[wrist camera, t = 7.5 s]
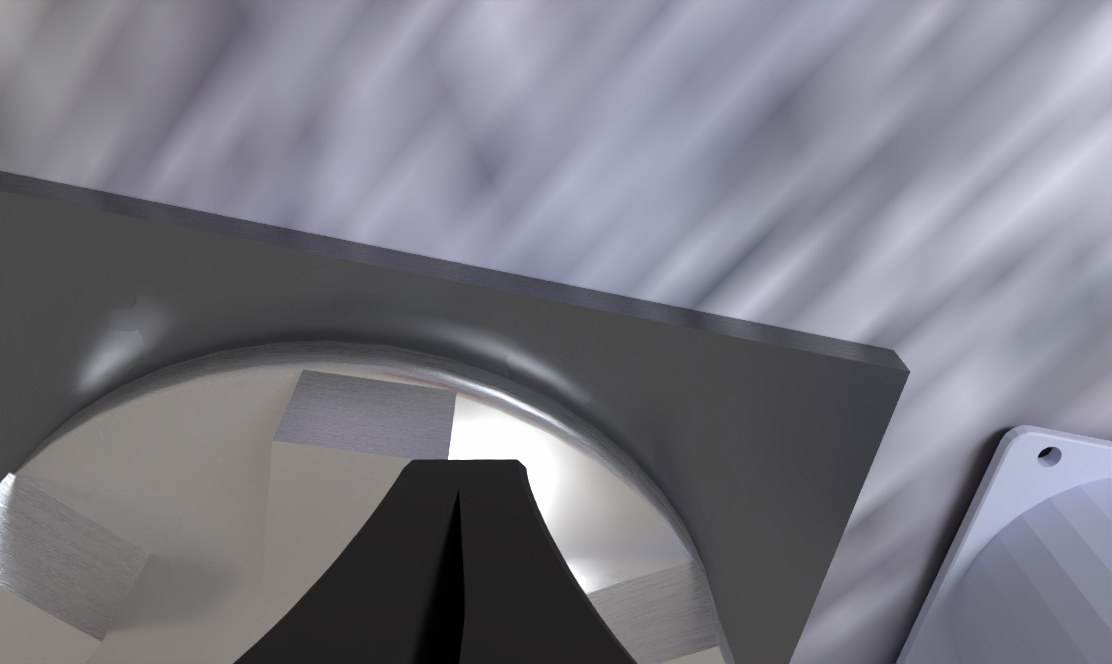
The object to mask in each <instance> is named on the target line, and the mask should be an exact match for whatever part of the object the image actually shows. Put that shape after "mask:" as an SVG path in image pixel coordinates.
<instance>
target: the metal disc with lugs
mask: <svg viewBox="0 0 1112 664" xmlns="http://www.w3.org/2000/svg"><path fill="white" fill-rule="evenodd" d="M414 459H518V460H519V461H520V462H521V463H522V464H523V465H524V466H525V467H527V474H528V478H529V482H530V486H531V489H532V492H533V495H534V497H535V500H536V503H537V505H538V507H539V510H540V512H541V514H542V517H543V519H544V521H545V523H546V525H547V527H548V530H549V532H550V534H551V536H552V538H553V539H554V541H555V543H556V545H557V547H558V548H559V550H560V552H561V554H562V556H563V558H564V559H565V561H566V563H567V565H568V567H569V568H570V570H571V572H572V573H573V575H574V577H575V578H576V580H577V582H578V583H579V585H580V586H581V588H582V589H583V591H584V592H585V594H586V595H587V597H588V598H589V600H590V601H591V603H592V604H593V606H594V607H595V609H596V610H597V612H598V613H599V615H600V616H601V617H602V619H603V620H604V622H605V623H606V624H607V626H608V627H609V629H610V630H611V631H612V632H613V634H614V635H615V636H616V638H617V639H618V640H619V642H620V643H621V644H622V645H623V647H624V648H625V649H626V650H627V651H628V653H629V654H630V655H631V656H632V657H633V659H634V660H635V661H636V662H637V664H735V661H734V658H733V655H732V652H731V650H730V647H729V644H728V642H727V639H726V636H725V634H724V631H723V628H722V626H721V623H720V620H719V618H718V614H717V610H716V606H715V603H714V599H713V596H712V592H711V588H710V585H709V581H708V578H707V574H706V571H705V567H704V564H703V562H702V560H701V558H700V556H699V554H698V552H697V549H696V547H695V545H694V543H693V541H692V539H691V537H690V535H689V532H688V530H687V528H686V526H685V525H684V523H683V522H682V520H681V519H680V517H679V516H678V515H677V513H676V512H675V510H674V509H673V507H672V506H671V504H670V503H669V501H668V500H667V498H666V497H665V495H664V494H663V492H662V491H661V490H660V489H659V487H658V486H657V485H656V484H655V483H654V482H653V481H652V480H651V479H650V478H649V476H648V475H647V474H646V473H645V472H644V471H643V470H642V469H641V468H640V467H639V466H638V464H637V463H636V462H635V461H634V460H633V459H632V458H631V457H630V456H629V455H628V454H627V453H626V452H624V451H623V450H622V449H621V448H620V447H618V446H617V445H616V444H615V443H614V442H612V441H611V440H610V439H609V438H608V437H606V436H605V435H604V434H603V433H602V432H600V431H599V430H598V429H597V428H595V427H594V426H593V425H592V424H590V423H589V422H587V421H586V420H584V419H582V418H581V417H579V416H578V415H576V414H574V413H573V412H571V411H570V410H568V409H566V408H565V407H563V406H562V405H560V404H559V403H557V402H555V401H554V400H552V399H551V398H549V397H547V396H545V395H543V394H541V393H539V392H537V391H534V390H532V389H530V388H528V387H526V386H524V385H522V384H519V383H517V382H515V381H513V380H511V379H509V378H507V377H505V376H502V375H500V374H498V373H495V372H492V371H489V370H486V369H482V368H479V367H476V366H473V365H470V364H467V363H464V362H461V361H458V360H455V359H452V358H449V357H446V356H441V355H436V354H431V353H426V352H421V351H416V350H412V349H407V348H402V347H397V346H392V345H382V344H370V343H359V342H347V341H335V340H328V341H298V342H274V343H268V344H261V345H255V346H248V347H242V348H235V349H229V350H222V351H218V352H214V353H211V354H207V355H204V356H200V357H197V358H193V359H190V360H186V361H183V362H179V363H176V364H172V365H169V366H166V367H164V368H161V369H159V370H157V371H155V372H152V373H150V374H148V375H145V376H143V377H141V378H138V379H136V380H134V381H132V382H129V383H127V384H125V385H122V386H120V387H118V388H117V389H115V390H113V391H112V392H110V393H108V394H107V395H105V396H103V397H102V398H100V399H99V400H97V401H95V402H94V403H92V404H90V405H89V406H87V407H86V408H84V409H82V410H81V411H79V412H77V413H76V414H75V415H74V416H72V417H71V418H70V419H69V420H68V421H66V422H65V423H64V424H63V425H62V426H60V427H59V428H58V429H57V430H56V431H55V432H53V433H52V434H51V435H50V436H49V437H47V438H46V439H45V440H44V441H43V442H41V443H40V444H39V445H38V447H37V448H36V449H35V450H34V451H33V452H32V454H31V455H30V456H29V457H28V458H27V459H26V461H25V462H24V463H23V464H22V465H21V466H20V467H19V469H18V470H17V471H16V472H15V473H14V474H11V473H9V474H8V475H7V476H6V477H5V478H4V479H3V481H2V482H1V483H0V664H233V663H234V662H235V661H236V660H237V659H238V658H240V657H241V656H242V655H243V654H244V653H245V652H246V651H247V650H249V649H250V648H251V647H252V646H253V645H254V644H255V643H256V642H258V641H259V640H260V639H261V638H262V637H263V636H264V635H265V634H266V633H267V632H268V631H269V630H270V629H271V628H272V627H273V626H274V625H275V624H276V623H277V622H278V621H279V620H280V619H281V618H283V617H284V616H285V615H286V614H287V613H288V612H289V610H290V609H291V608H292V607H293V606H294V605H295V604H296V603H297V602H298V601H299V600H300V599H301V598H302V597H303V595H304V594H305V593H306V592H307V591H308V590H309V589H310V588H311V587H312V586H313V585H314V583H315V582H316V581H317V580H318V579H319V578H320V577H321V576H322V575H323V574H324V573H325V572H326V570H327V569H328V568H329V567H330V566H331V565H332V564H333V562H334V561H335V560H336V559H337V558H338V556H339V555H340V554H341V553H342V551H343V550H344V549H345V548H346V546H347V545H348V544H349V543H350V541H351V540H352V539H353V538H354V537H355V535H356V534H357V533H358V532H359V530H360V529H361V528H362V527H363V525H364V524H365V523H366V521H367V520H368V519H369V517H370V516H371V515H372V513H373V512H374V511H375V509H376V508H377V507H378V505H379V504H380V502H381V501H382V500H383V498H384V497H385V495H386V494H387V492H388V491H389V490H390V488H391V487H392V485H393V484H394V482H395V481H396V479H397V478H398V476H399V474H400V473H401V471H402V470H403V468H404V467H405V466H406V465H407V464H408V463H410V462H411V461H412V460H414Z"/></svg>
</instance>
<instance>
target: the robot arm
mask: <svg viewBox="0 0 1112 664" xmlns="http://www.w3.org/2000/svg"><path fill="white" fill-rule="evenodd" d="M1047 447H1053V448H1052V450H1051V452H1050V453H1049V454H1048V455H1046V456H1044V457H1041V458H1038V455H1039V453H1040V452H1041V451H1042V450H1043V449H1045V448H1047ZM233 664H637V662H636V661H635V660H634V659H633V657H632V656H631V655H630V654H629V653H628V651H627V650H626V649H625V648H624V647H623V645H622V644H621V643H620V642H619V640H618V639H617V638H616V636H615V635H614V634H613V632H612V631H611V630H610V629H609V627H608V626H607V624H606V623H605V622H604V620H603V619H602V617H601V616H600V615H599V613H598V612H597V610H596V609H595V607H594V606H593V604H592V603H591V601H590V600H589V598H588V597H587V595H586V594H585V592H584V591H583V589H582V588H581V586H580V585H579V583H578V582H577V580H576V578H575V577H574V575H573V573H572V572H571V570H570V568H569V567H568V565H567V563H566V561H565V559H564V558H563V556H562V554H561V552H560V550H559V548H558V547H557V545H556V543H555V541H554V539H553V538H552V536H551V534H550V532H549V530H548V527H547V525H546V523H545V521H544V519H543V517H542V514H541V512H540V510H539V507H538V505H537V503H536V500H535V497H534V495H533V492H532V489H531V486H530V482H529V478H528V474H527V467H525V466H524V465H523V464H522V463H521V462H520V461H519V460H518V459H414V460H412V461H411V462H410V463H408V464H407V465H406V466H405V467H404V468H403V470H402V471H401V473H400V474H399V476H398V478H397V479H396V481H395V482H394V484H393V485H392V487H391V488H390V490H389V491H388V492H387V494H386V495H385V497H384V498H383V500H382V501H381V502H380V504H379V505H378V507H377V508H376V509H375V511H374V512H373V513H372V515H371V516H370V517H369V519H368V520H367V521H366V523H365V524H364V525H363V527H362V528H361V529H360V530H359V532H358V533H357V534H356V535H355V537H354V538H353V539H352V540H351V541H350V543H349V544H348V545H347V546H346V548H345V549H344V550H343V551H342V553H341V554H340V555H339V556H338V558H337V559H336V560H335V561H334V562H333V564H332V565H331V566H330V567H329V568H328V569H327V570H326V572H325V573H324V574H323V575H322V576H321V577H320V578H319V579H318V580H317V581H316V582H315V583H314V585H313V586H312V587H311V588H310V589H309V590H308V591H307V592H306V593H305V594H304V595H303V597H302V598H301V599H300V600H299V601H298V602H297V603H296V604H295V605H294V606H293V607H292V608H291V609H290V610H289V612H288V613H287V614H286V615H285V616H284V617H283V618H281V619H280V620H279V621H278V622H277V623H276V624H275V625H274V626H273V627H272V628H271V629H270V630H269V631H268V632H267V633H266V634H265V635H264V636H263V637H262V638H261V639H260V640H259V641H258V642H256V643H255V644H254V645H253V646H252V647H251V648H250V649H249V650H247V651H246V652H245V653H244V654H243V655H242V656H241V657H240V658H238V659H237V660H236V661H235V662H234V663H233ZM896 664H1112V441H1108V440H1103V439H1097V438H1092V437H1087V436H1082V435H1077V434H1072V433H1067V432H1061V431H1056V430H1051V429H1046V428H1041V427H1036V426H1031V425H1022V426H1019V427H1016V428H1013V429H1011V430H1010V431H1009V432H1007V433H1006V434H1005V435H1004V437H1003V438H1002V439H1001V441H1000V443H999V445H998V447H997V449H996V451H995V453H994V456H993V458H992V460H991V462H990V464H989V466H988V468H987V470H986V473H985V475H984V477H983V479H982V481H981V483H980V485H979V487H978V490H977V492H976V494H975V496H974V498H973V500H972V502H971V504H970V507H969V509H968V511H967V513H966V515H965V517H964V519H963V521H962V524H961V526H960V528H959V530H958V532H957V534H956V536H955V538H954V541H953V543H952V545H951V547H950V549H949V551H948V553H947V555H946V558H945V560H944V562H943V564H942V566H941V568H940V570H939V572H938V575H937V577H936V579H935V581H934V583H933V585H932V587H931V589H930V592H929V594H928V596H927V598H926V600H925V602H924V604H923V606H922V609H921V611H920V613H919V615H918V617H917V619H916V621H915V623H914V625H913V628H912V630H911V632H910V634H909V636H908V638H907V640H906V642H905V645H904V647H903V649H902V651H901V653H900V655H899V657H898V659H897V662H896Z"/></svg>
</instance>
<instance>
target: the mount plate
mask: <svg viewBox="0 0 1112 664" xmlns="http://www.w3.org/2000/svg"><path fill="white" fill-rule="evenodd" d="M328 340H335V341H347V342H359V343H370V344H382V345H392V346H397V347H402V348H407V349H412V350H416V351H421V352H426V353H431V354H436V355H441V356H446V357H449V358H452V359H455V360H458V361H461V362H464V363H467V364H470V365H473V366H476V367H479V368H482V369H486V370H489V371H492V372H495V373H498V374H500V375H502V376H505V377H507V378H509V379H511V380H513V381H515V382H517V383H519V384H522V385H524V386H526V387H528V388H530V389H532V390H534V391H537V392H539V393H541V394H543V395H545V396H547V397H549V398H551V399H552V400H554V401H555V402H557V403H559V404H560V405H562V406H563V407H565V408H566V409H568V410H570V411H571V412H573V413H574V414H576V415H578V416H579V417H581V418H582V419H584V420H586V421H587V422H589V423H590V424H592V425H593V426H594V427H595V428H597V429H598V430H599V431H600V432H602V433H603V434H604V435H605V436H606V437H608V438H609V439H610V440H611V441H612V442H614V443H615V444H616V445H617V446H618V447H620V448H621V449H622V450H623V451H624V452H626V453H627V454H628V455H629V456H630V457H631V458H632V459H633V460H634V461H635V462H636V463H637V464H638V466H639V467H640V468H641V469H642V470H643V471H644V472H645V473H646V474H647V475H648V476H649V478H650V479H651V480H652V481H653V482H654V483H655V484H656V485H657V486H658V487H659V489H660V490H661V491H662V492H663V494H664V495H665V497H666V498H667V500H668V501H669V503H670V504H671V506H672V507H673V509H674V510H675V512H676V513H677V515H678V516H679V517H680V519H681V520H682V522H683V523H684V525H685V526H686V528H687V530H688V532H689V535H690V537H691V539H692V541H693V543H694V545H695V547H696V549H697V552H698V554H699V556H700V558H701V560H702V562H703V564H704V567H705V571H706V574H707V578H708V581H709V585H710V588H711V592H712V596H713V599H714V603H715V606H716V610H717V614H718V618H719V620H720V623H721V626H722V628H723V631H724V634H725V636H726V639H727V642H728V644H729V647H730V650H731V652H732V655H733V658H734V661H735V664H789V662H790V660H791V658H792V655H793V653H794V650H795V648H796V646H797V643H798V641H799V638H800V636H801V634H802V631H803V629H804V626H805V624H806V622H807V619H808V617H809V614H810V612H811V609H812V607H813V605H814V602H815V600H816V597H817V595H818V593H819V590H820V588H821V585H822V583H823V581H824V578H825V576H826V573H827V571H828V569H829V566H830V564H831V561H832V559H833V557H834V554H835V552H836V549H837V547H838V544H839V542H840V540H841V537H842V535H843V532H844V530H845V528H846V525H847V523H848V520H849V518H850V516H851V513H852V511H853V508H854V506H855V504H856V501H857V499H858V496H859V494H860V491H861V489H862V487H863V484H864V482H865V479H866V477H867V475H868V472H869V470H870V467H871V465H872V463H873V460H874V458H875V455H876V453H877V451H878V448H879V446H880V443H881V441H882V438H883V436H884V434H885V431H886V429H887V426H888V424H889V422H890V419H891V417H892V414H893V412H894V410H895V407H896V405H897V402H898V400H899V398H900V395H901V393H902V390H903V388H904V386H905V383H906V381H907V378H908V376H909V373H910V371H909V369H908V368H907V367H906V365H905V364H904V363H903V362H902V360H901V359H900V358H899V356H898V355H897V354H896V353H895V351H894V350H889V349H884V348H879V347H874V346H869V345H864V344H859V343H854V342H849V341H845V340H840V339H835V338H830V337H825V336H820V335H815V334H810V333H805V332H800V331H795V330H790V329H785V328H780V327H775V326H770V325H765V324H760V323H755V322H750V321H745V320H740V319H735V318H730V317H725V316H720V315H715V314H710V313H705V312H700V311H695V310H690V309H685V308H680V307H675V306H670V305H665V304H660V303H655V302H650V301H645V300H640V299H635V298H630V297H625V296H620V295H615V294H610V293H605V292H600V291H595V290H590V289H585V288H580V287H575V286H570V285H565V284H560V283H555V282H550V281H545V280H540V279H535V278H531V277H526V276H521V275H516V274H511V273H506V272H501V271H496V270H491V269H486V268H481V267H476V266H471V265H466V264H461V263H456V262H451V261H446V260H441V259H436V258H431V257H426V256H421V255H416V254H411V253H406V252H401V251H396V250H391V249H386V248H381V247H376V246H371V245H366V244H361V243H356V242H351V241H346V240H341V239H336V238H331V237H326V236H321V235H316V234H311V233H306V232H301V231H296V230H291V229H286V228H281V227H276V226H271V225H266V224H261V223H256V222H251V221H246V220H241V219H236V218H231V217H226V216H221V215H217V214H212V213H207V212H202V211H197V210H192V209H187V208H182V207H177V206H172V205H167V204H162V203H157V202H152V201H147V200H142V199H137V198H132V197H127V196H122V195H117V194H112V193H107V192H102V191H97V190H92V189H87V188H82V187H77V186H72V185H67V184H62V183H57V182H52V181H47V180H42V179H37V178H32V177H27V176H22V175H17V174H12V173H7V172H2V171H0V483H1V482H2V481H3V479H4V478H5V477H6V476H7V475H8V474H9V473H11V474H14V473H15V472H16V471H17V470H18V469H19V467H20V466H21V465H22V464H23V463H24V462H25V461H26V459H27V458H28V457H29V456H30V455H31V454H32V452H33V451H34V450H35V449H36V448H37V447H38V445H39V444H40V443H41V442H43V441H44V440H45V439H46V438H47V437H49V436H50V435H51V434H52V433H53V432H55V431H56V430H57V429H58V428H59V427H60V426H62V425H63V424H64V423H65V422H66V421H68V420H69V419H70V418H71V417H72V416H74V415H75V414H76V413H77V412H79V411H81V410H82V409H84V408H86V407H87V406H89V405H90V404H92V403H94V402H95V401H97V400H99V399H100V398H102V397H103V396H105V395H107V394H108V393H110V392H112V391H113V390H115V389H117V388H118V387H120V386H122V385H125V384H127V383H129V382H132V381H134V380H136V379H138V378H141V377H143V376H145V375H148V374H150V373H152V372H155V371H157V370H159V369H161V368H164V367H166V366H169V365H172V364H176V363H179V362H183V361H186V360H190V359H193V358H197V357H200V356H204V355H207V354H211V353H214V352H218V351H222V350H229V349H235V348H242V347H248V346H255V345H261V344H268V343H274V342H298V341H328Z"/></svg>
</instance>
